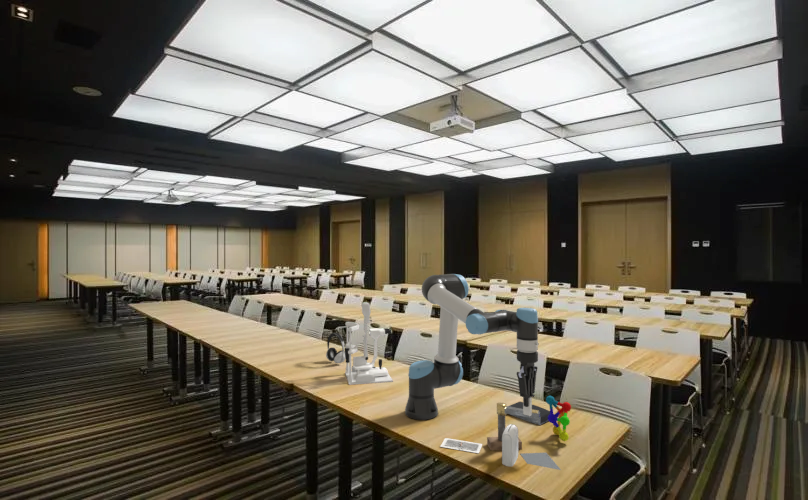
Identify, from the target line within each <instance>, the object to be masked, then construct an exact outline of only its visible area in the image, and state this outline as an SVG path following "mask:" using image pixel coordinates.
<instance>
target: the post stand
mask: <svg viewBox="0 0 808 500" xmlns="http://www.w3.org/2000/svg"><path fill="white" fill-rule="evenodd" d="M505 428H506V415H498V414H497V436H487V437H486V442H487V443H486V444H487V446H488V449H489V450H490V451H502V435H503V432H504V430H505ZM518 450H523V441H522V440H521V439H520V438H519V437H518Z"/></svg>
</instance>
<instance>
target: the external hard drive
mask: <svg viewBox="0 0 808 500" xmlns="http://www.w3.org/2000/svg"><path fill="white" fill-rule="evenodd" d="M508 406H509V407H515V408H521V409H523V401H518V402H515V403H512V404H510V405H508ZM532 409H533V410H539V412H540V418H539V419H534V418H529V417H523V416H518V415H512V414H509V415H510V416H512V417H514V418H517V419H520V420H523V421H526V422H527V423H528V422H529V423H532V424H535V425H539V426H541V425H543V424H546V423H548V422H549V421H548V415H549V414H550V410H548V409H546V408H544V407H541V406H539V405H535V404H532Z"/></svg>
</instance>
